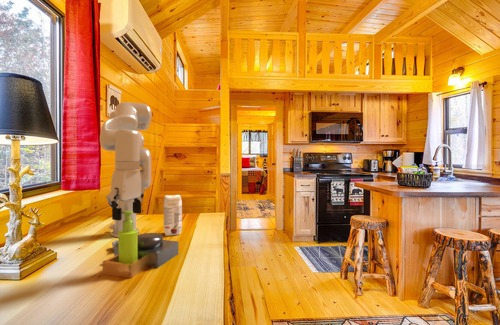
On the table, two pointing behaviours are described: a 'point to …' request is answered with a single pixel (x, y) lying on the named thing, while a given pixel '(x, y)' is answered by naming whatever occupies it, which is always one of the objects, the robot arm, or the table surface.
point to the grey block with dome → (143, 256)
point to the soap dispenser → (128, 241)
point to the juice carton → (172, 215)
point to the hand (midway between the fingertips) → (127, 216)
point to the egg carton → (115, 244)
